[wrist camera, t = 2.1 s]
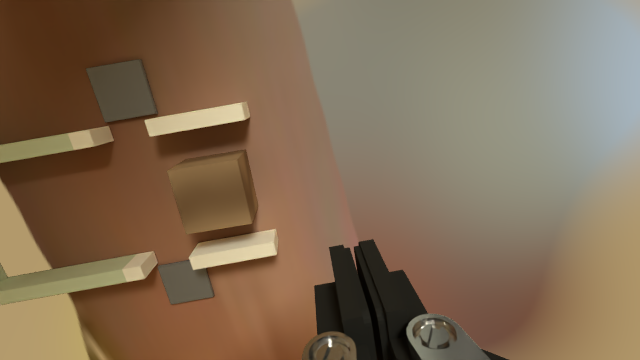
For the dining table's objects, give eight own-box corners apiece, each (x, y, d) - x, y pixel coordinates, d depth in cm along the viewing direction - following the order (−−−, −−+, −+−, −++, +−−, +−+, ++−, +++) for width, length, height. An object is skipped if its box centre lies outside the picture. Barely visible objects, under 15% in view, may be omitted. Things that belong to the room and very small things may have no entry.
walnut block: (186, 158, 26) (166, 170, 22) (246, 149, 26) (236, 159, 22) (201, 214, 28) (186, 234, 24) (258, 204, 28) (251, 223, 24)
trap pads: (88, 68, 24) (85, 68, 23) (141, 59, 24) (139, 59, 23) (172, 302, 30) (171, 304, 29) (214, 294, 30) (213, 296, 30)
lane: (-72, 157, 25) (-112, 165, 22) (246, 101, 25) (241, 103, 23) (0, 291, 28) (-28, 310, 26) (278, 240, 29) (276, 254, 26)
